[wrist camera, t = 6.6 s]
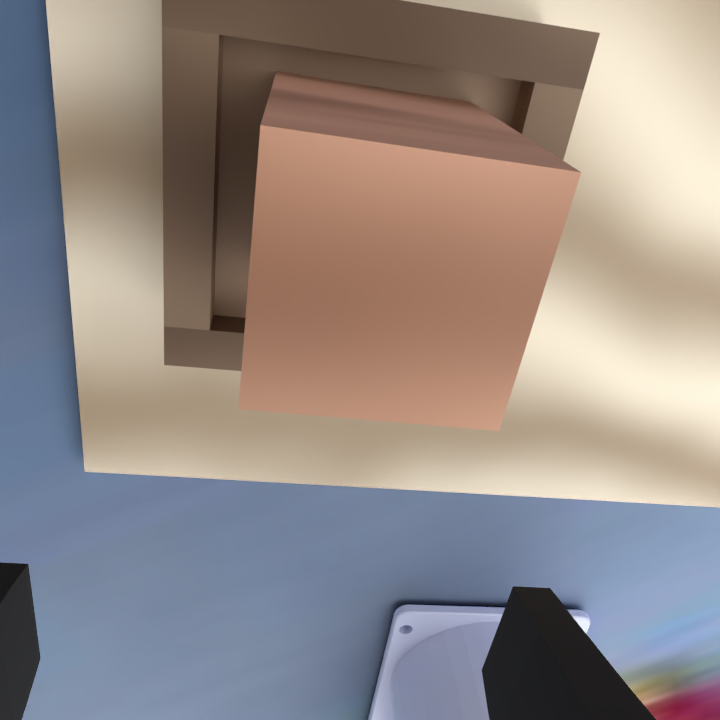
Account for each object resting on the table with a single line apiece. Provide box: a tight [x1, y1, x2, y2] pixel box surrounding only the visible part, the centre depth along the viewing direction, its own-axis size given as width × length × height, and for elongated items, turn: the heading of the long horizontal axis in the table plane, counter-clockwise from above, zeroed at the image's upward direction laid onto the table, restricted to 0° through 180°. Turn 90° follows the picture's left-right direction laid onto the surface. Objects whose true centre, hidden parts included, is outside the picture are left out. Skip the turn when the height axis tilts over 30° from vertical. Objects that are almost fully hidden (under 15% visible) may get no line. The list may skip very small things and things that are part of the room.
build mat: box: [46, 0, 720, 507], centre depth 16 cm, size 18×25×4 cm
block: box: [238, 71, 581, 431], centre depth 11 cm, size 4×4×6 cm
